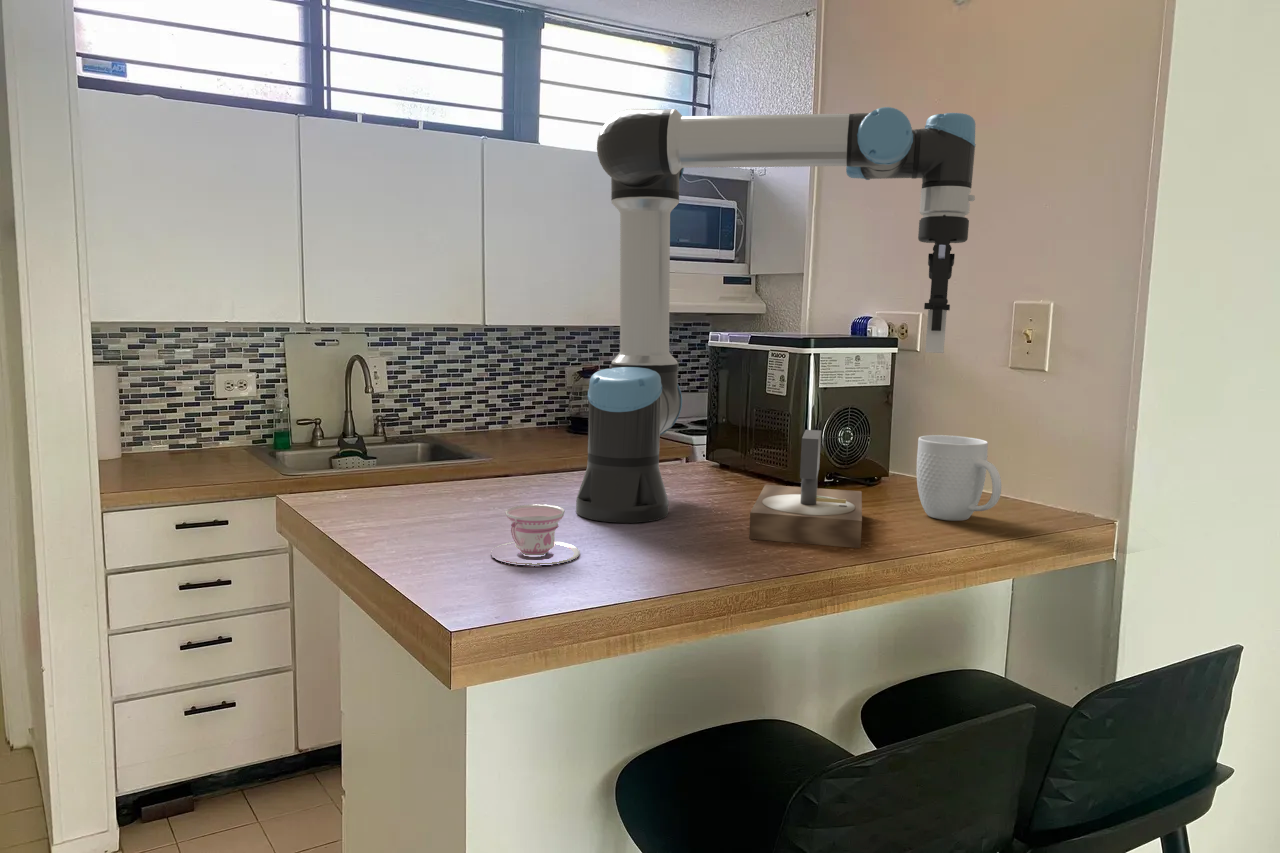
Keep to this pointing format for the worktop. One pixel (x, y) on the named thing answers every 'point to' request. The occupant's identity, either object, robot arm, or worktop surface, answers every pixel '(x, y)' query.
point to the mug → (954, 476)
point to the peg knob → (811, 468)
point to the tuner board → (807, 517)
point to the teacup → (536, 530)
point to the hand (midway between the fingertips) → (934, 351)
